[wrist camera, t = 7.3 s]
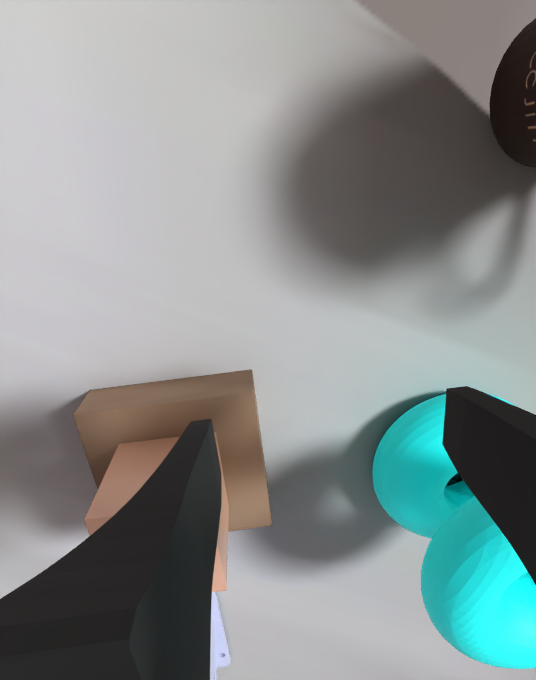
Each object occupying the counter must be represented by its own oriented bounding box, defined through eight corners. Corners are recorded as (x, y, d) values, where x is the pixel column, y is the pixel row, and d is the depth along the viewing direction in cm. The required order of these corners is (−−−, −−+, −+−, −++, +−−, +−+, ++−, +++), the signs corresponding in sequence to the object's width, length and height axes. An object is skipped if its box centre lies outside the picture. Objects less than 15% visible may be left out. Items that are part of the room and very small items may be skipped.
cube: (228, 506, 22) (226, 590, 18) (139, 518, 22) (114, 605, 18) (216, 431, 21) (209, 503, 16) (118, 443, 20) (84, 519, 16)
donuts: (739, 546, 15) (582, 696, 19) (551, 408, 25) (468, 525, 28) (531, 487, 14) (397, 666, 17) (412, 362, 23) (340, 493, 26)
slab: (268, 488, 26) (271, 525, 23) (130, 507, 26) (117, 546, 23) (251, 365, 23) (253, 392, 20) (93, 385, 22) (72, 415, 20)
